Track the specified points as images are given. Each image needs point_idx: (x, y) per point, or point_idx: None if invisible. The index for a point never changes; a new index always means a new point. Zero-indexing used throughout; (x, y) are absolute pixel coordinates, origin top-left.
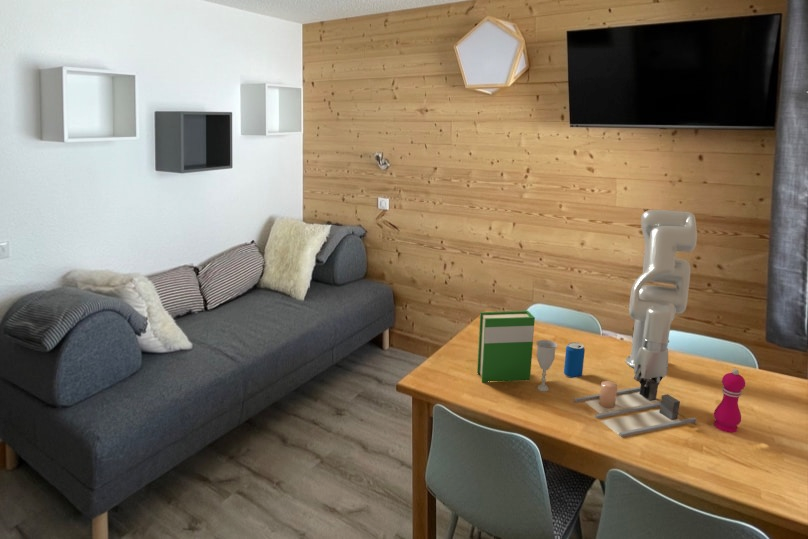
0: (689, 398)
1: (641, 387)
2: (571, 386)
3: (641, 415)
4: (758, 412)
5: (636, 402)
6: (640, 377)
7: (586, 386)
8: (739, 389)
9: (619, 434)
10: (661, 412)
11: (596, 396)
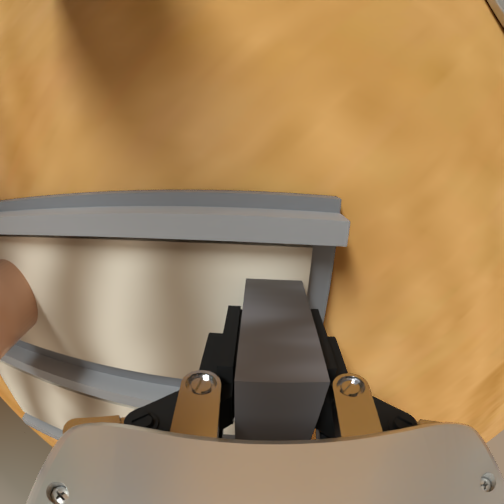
0: (468, 342)
1: (201, 366)
2: (7, 50)
3: (111, 412)
4: (488, 419)
5: (147, 348)
6: (171, 425)
7: (52, 46)
8: None
9: (24, 416)
10: None
11: None
